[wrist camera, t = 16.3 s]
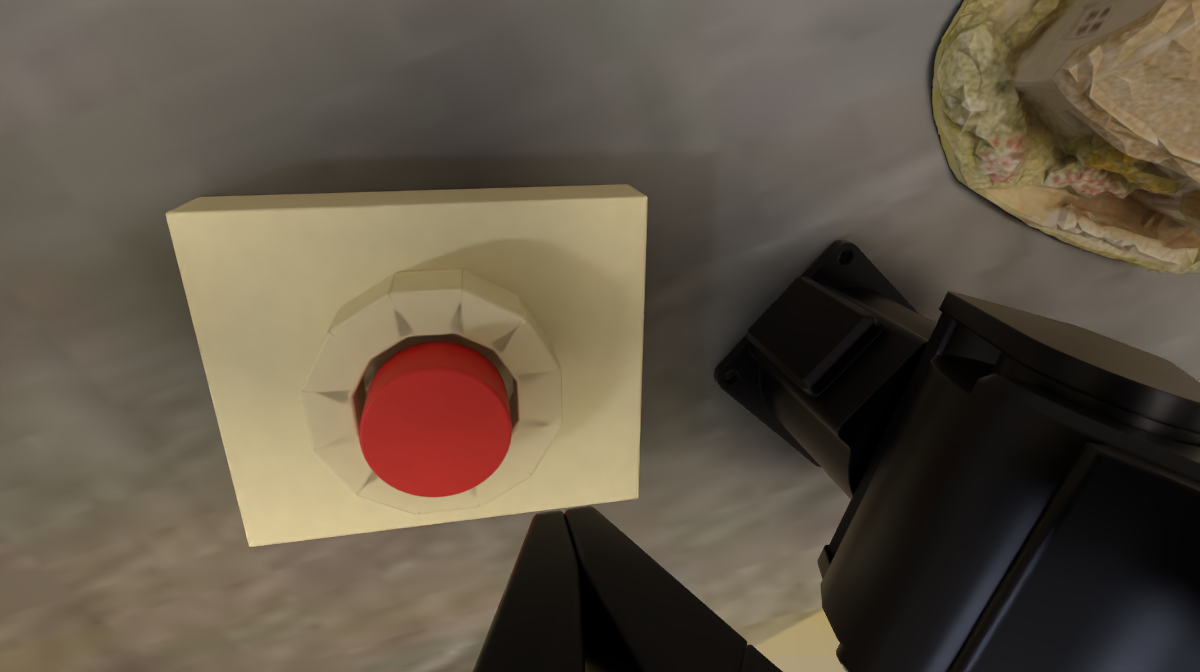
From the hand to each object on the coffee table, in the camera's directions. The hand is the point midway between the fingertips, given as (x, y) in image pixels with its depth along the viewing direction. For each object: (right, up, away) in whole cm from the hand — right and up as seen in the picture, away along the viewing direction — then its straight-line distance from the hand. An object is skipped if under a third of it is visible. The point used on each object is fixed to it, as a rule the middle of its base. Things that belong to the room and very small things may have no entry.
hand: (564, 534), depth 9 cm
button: (-4, +1, +8) cm, 9 cm away
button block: (-5, +2, +11) cm, 12 cm away
